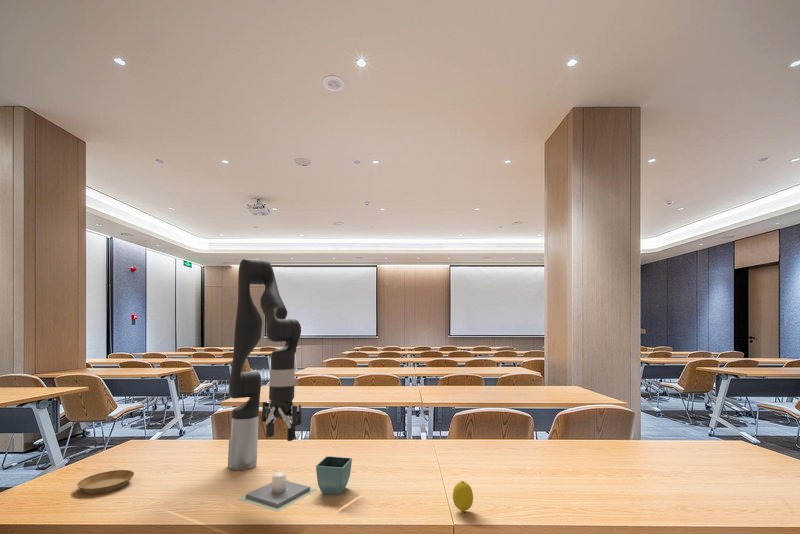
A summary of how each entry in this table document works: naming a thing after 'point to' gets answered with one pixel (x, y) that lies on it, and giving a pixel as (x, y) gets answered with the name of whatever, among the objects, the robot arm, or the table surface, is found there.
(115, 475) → the plant saucer
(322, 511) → the table surface
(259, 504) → the mat
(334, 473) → the flower pot
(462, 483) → the lemon
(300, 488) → the lid
